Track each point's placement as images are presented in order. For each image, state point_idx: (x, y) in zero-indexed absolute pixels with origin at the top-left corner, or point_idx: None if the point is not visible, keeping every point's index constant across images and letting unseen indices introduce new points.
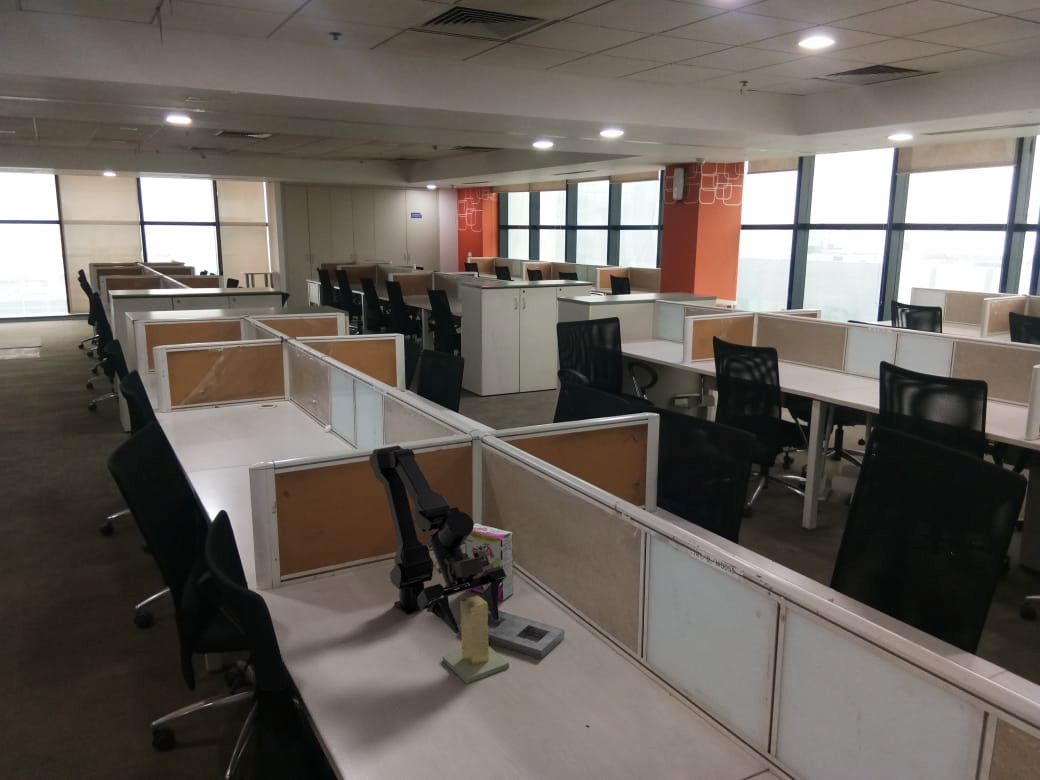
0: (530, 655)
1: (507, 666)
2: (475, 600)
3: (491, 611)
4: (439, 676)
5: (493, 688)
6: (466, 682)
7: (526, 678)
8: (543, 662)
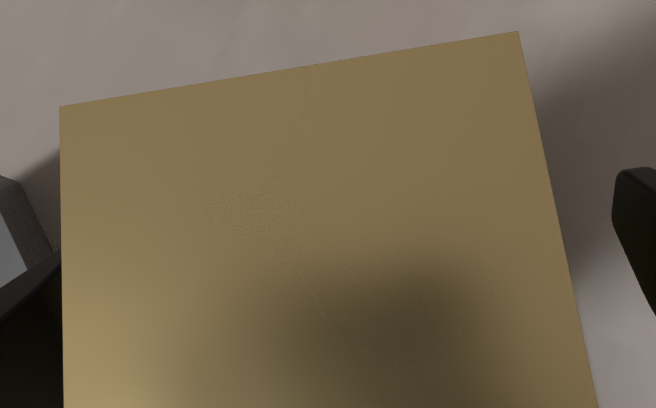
0: (46, 241)
1: None
2: (249, 335)
3: (55, 396)
4: (640, 292)
5: (377, 44)
6: None
7: (181, 56)
8: (26, 152)
